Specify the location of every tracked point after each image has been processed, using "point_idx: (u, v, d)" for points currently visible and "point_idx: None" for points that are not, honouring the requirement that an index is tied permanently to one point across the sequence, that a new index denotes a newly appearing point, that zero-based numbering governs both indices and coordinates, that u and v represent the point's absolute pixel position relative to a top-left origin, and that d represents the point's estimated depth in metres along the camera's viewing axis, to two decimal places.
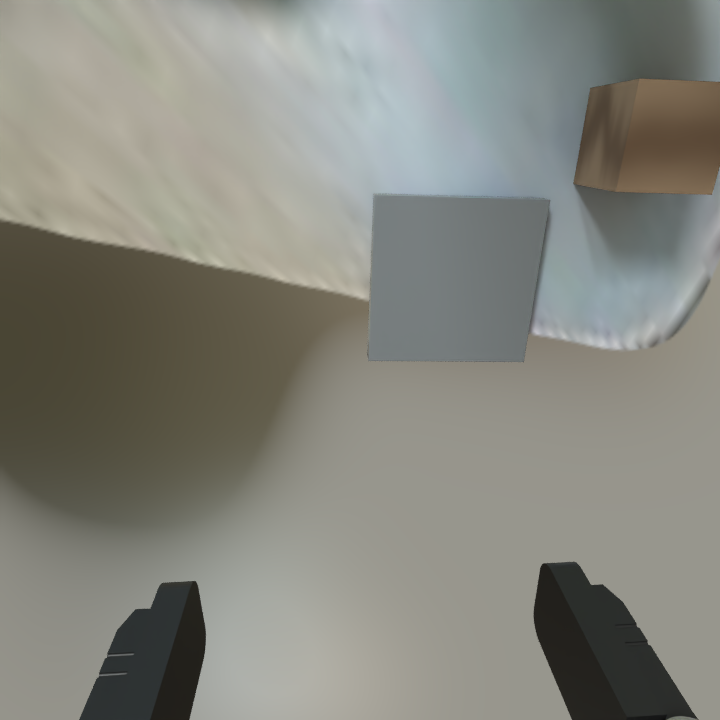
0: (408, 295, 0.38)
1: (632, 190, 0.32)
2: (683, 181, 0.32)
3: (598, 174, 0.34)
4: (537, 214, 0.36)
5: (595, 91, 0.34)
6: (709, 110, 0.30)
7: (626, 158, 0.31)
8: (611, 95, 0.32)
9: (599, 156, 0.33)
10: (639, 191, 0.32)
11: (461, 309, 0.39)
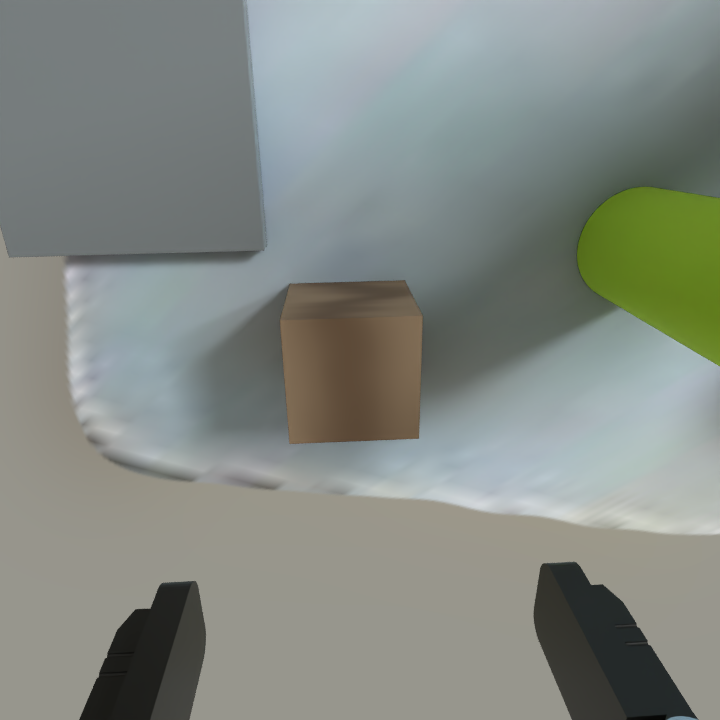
0: (75, 26, 0.22)
1: (284, 342, 0.22)
2: (302, 405, 0.24)
3: (303, 302, 0.24)
4: (242, 235, 0.25)
5: (401, 284, 0.27)
6: (387, 411, 0.24)
7: (324, 323, 0.22)
8: (399, 296, 0.25)
9: (325, 299, 0.25)
10: (283, 352, 0.23)
11: (72, 133, 0.23)
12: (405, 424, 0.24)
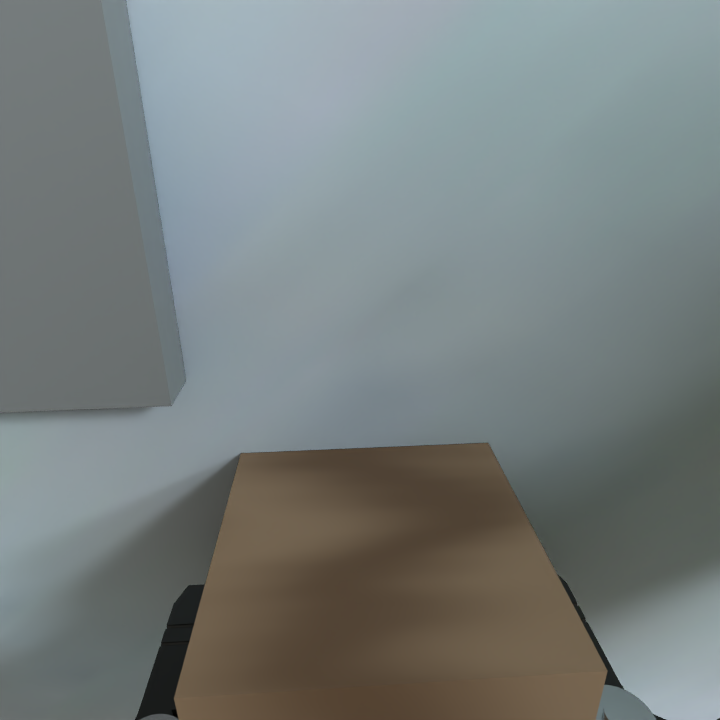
0: None
1: None
2: None
3: (259, 556, 0.10)
4: (115, 375, 0.10)
5: (488, 465, 0.12)
6: None
7: (313, 700, 0.07)
8: (500, 530, 0.10)
9: (316, 542, 0.10)
10: None
11: None
12: None
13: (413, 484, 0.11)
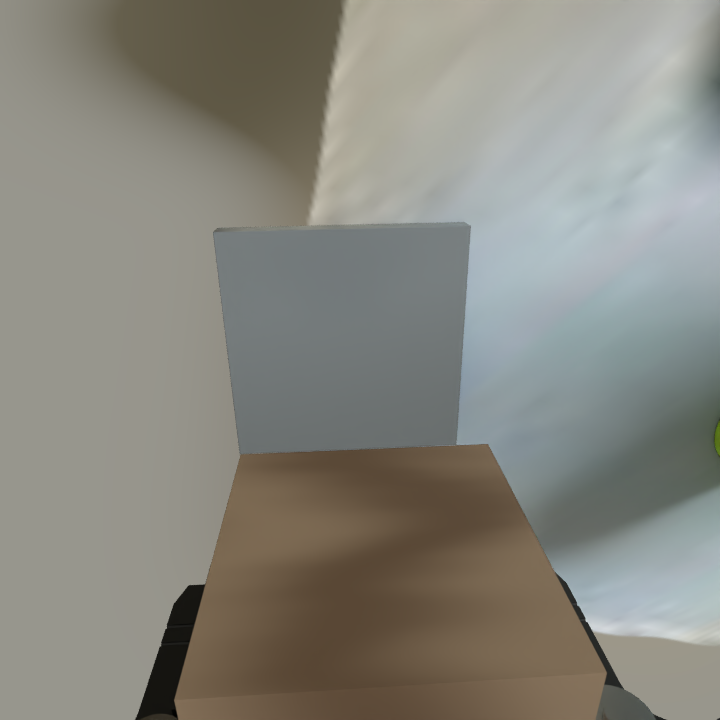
0: (326, 285, 0.26)
1: None
2: None
3: (260, 558, 0.10)
4: (439, 434, 0.29)
5: (488, 466, 0.12)
6: None
7: (313, 701, 0.07)
8: (500, 532, 0.10)
9: (316, 544, 0.10)
10: None
11: (310, 362, 0.27)
12: None
13: (413, 485, 0.11)
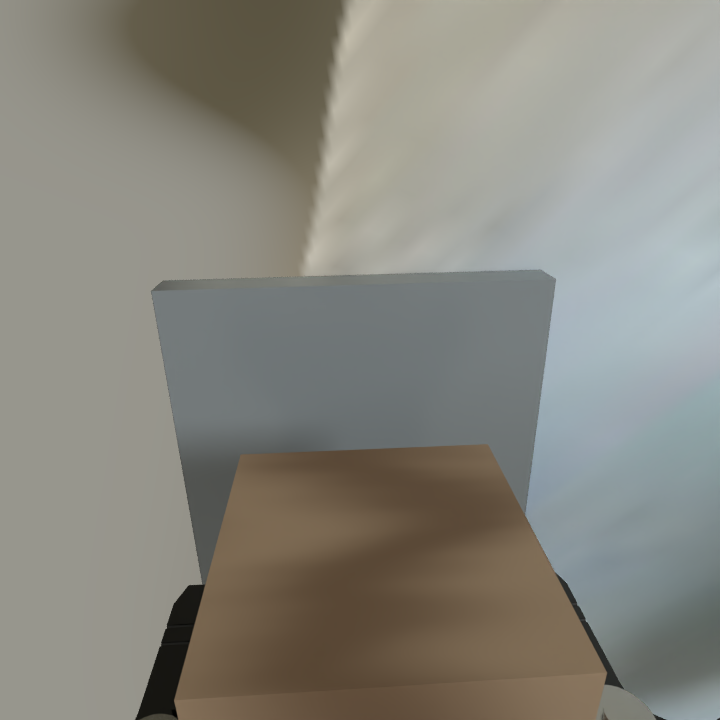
0: (331, 368, 0.17)
1: None
2: None
3: (260, 558, 0.10)
4: None
5: (487, 466, 0.12)
6: None
7: (313, 702, 0.07)
8: (500, 532, 0.10)
9: (316, 544, 0.10)
10: None
11: None
12: None
13: (413, 485, 0.11)
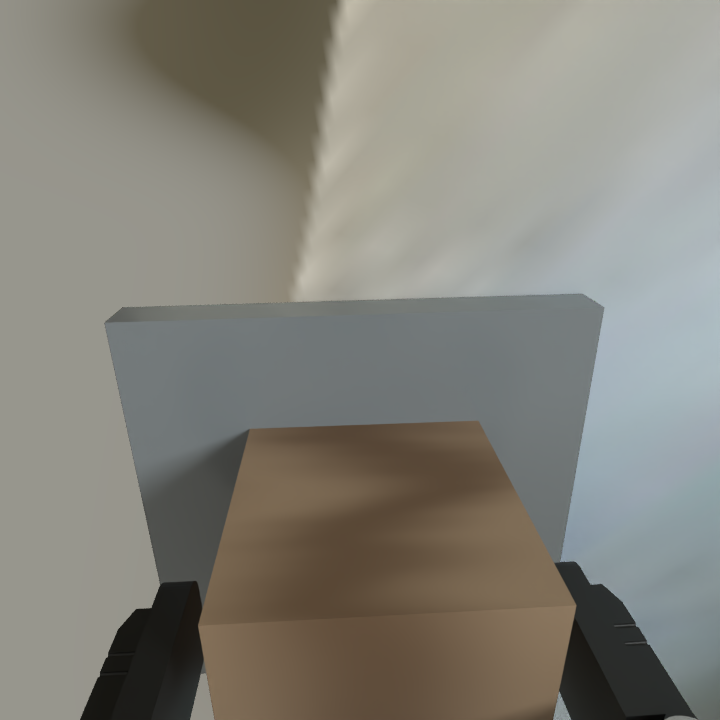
0: (327, 414, 0.14)
1: (212, 669, 0.09)
2: None
3: (270, 514, 0.11)
4: None
5: (478, 439, 0.13)
6: None
7: (319, 629, 0.08)
8: (487, 494, 0.11)
9: (320, 503, 0.11)
10: (212, 689, 0.09)
11: None
12: None
13: (408, 455, 0.12)
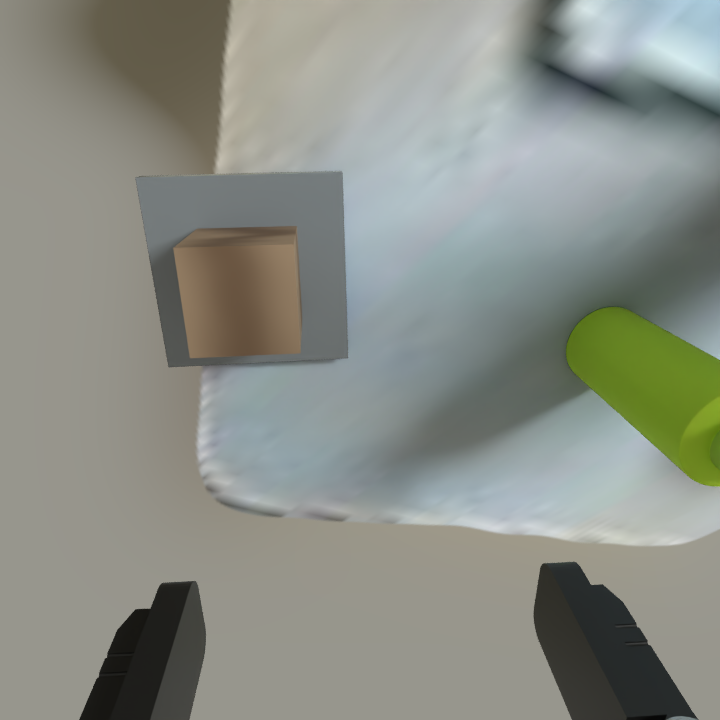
0: (230, 222, 0.32)
1: (178, 267, 0.27)
2: (198, 323, 0.28)
3: (200, 238, 0.29)
4: (333, 349, 0.36)
5: (292, 228, 0.32)
6: (271, 329, 0.29)
7: (211, 251, 0.27)
8: (284, 234, 0.30)
9: (220, 236, 0.29)
10: (178, 276, 0.27)
11: None
12: (287, 340, 0.29)
13: (260, 230, 0.31)
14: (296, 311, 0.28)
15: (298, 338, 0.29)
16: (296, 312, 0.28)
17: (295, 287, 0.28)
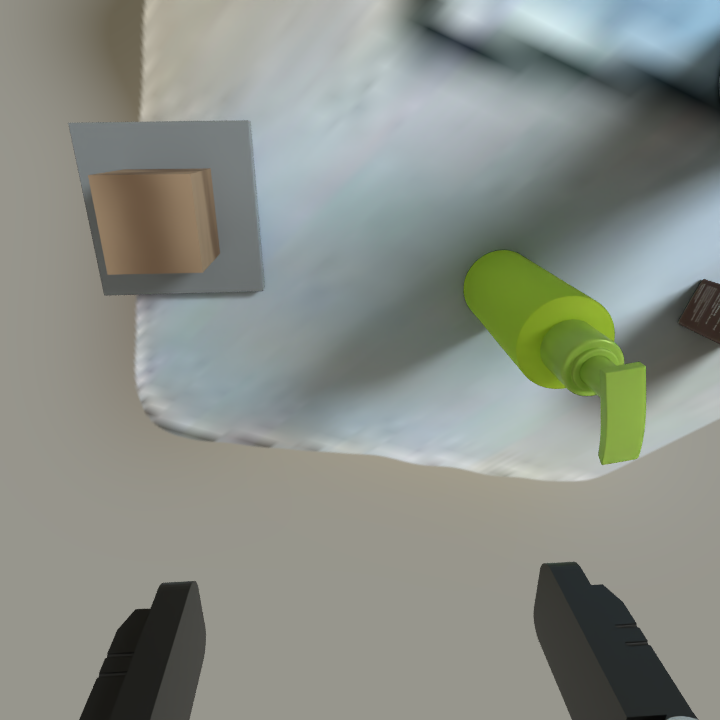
0: (152, 164, 0.37)
1: (93, 192, 0.32)
2: (112, 243, 0.33)
3: (118, 172, 0.34)
4: (249, 282, 0.41)
5: (204, 169, 0.36)
6: (176, 249, 0.33)
7: (120, 178, 0.32)
8: (191, 171, 0.34)
9: None
10: (93, 200, 0.32)
11: None
12: (190, 260, 0.34)
13: None
14: (196, 234, 0.33)
15: (200, 259, 0.34)
16: (196, 235, 0.33)
17: (194, 212, 0.33)
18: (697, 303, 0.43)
